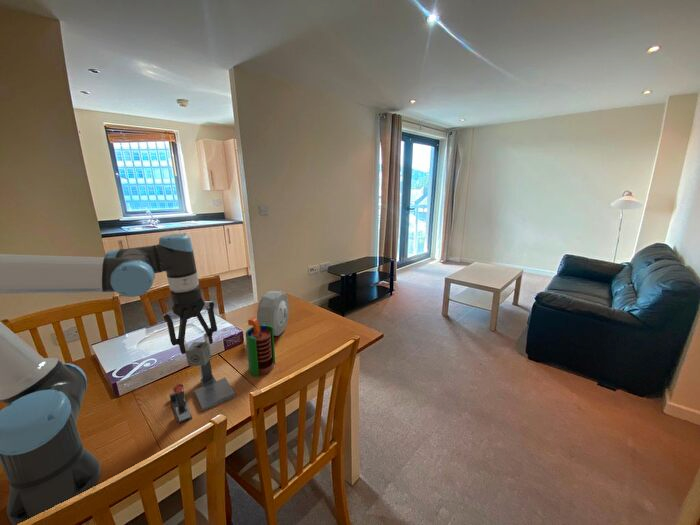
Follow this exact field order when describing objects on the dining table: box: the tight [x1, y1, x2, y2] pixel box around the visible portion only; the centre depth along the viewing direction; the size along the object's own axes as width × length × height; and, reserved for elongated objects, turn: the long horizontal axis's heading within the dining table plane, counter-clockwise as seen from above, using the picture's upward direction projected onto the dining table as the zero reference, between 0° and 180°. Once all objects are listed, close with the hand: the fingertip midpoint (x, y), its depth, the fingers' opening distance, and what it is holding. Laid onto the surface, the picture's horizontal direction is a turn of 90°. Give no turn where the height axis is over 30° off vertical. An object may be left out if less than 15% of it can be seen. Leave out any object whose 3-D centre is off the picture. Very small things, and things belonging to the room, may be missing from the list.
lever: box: [172, 383, 192, 422], centre depth 87 cm, size 3×4×11 cm
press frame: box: [169, 358, 236, 425], centre depth 95 cm, size 17×16×14 cm
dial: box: [256, 290, 290, 337], centre depth 135 cm, size 20×12×20 cm, turn 171°
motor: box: [245, 317, 276, 378], centre depth 109 cm, size 10×9×20 cm
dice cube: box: [185, 341, 213, 367], centre depth 91 cm, size 5×5×5 cm
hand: (199, 357), depth 92 cm, fingers closed on dice cube, 5 cm apart
